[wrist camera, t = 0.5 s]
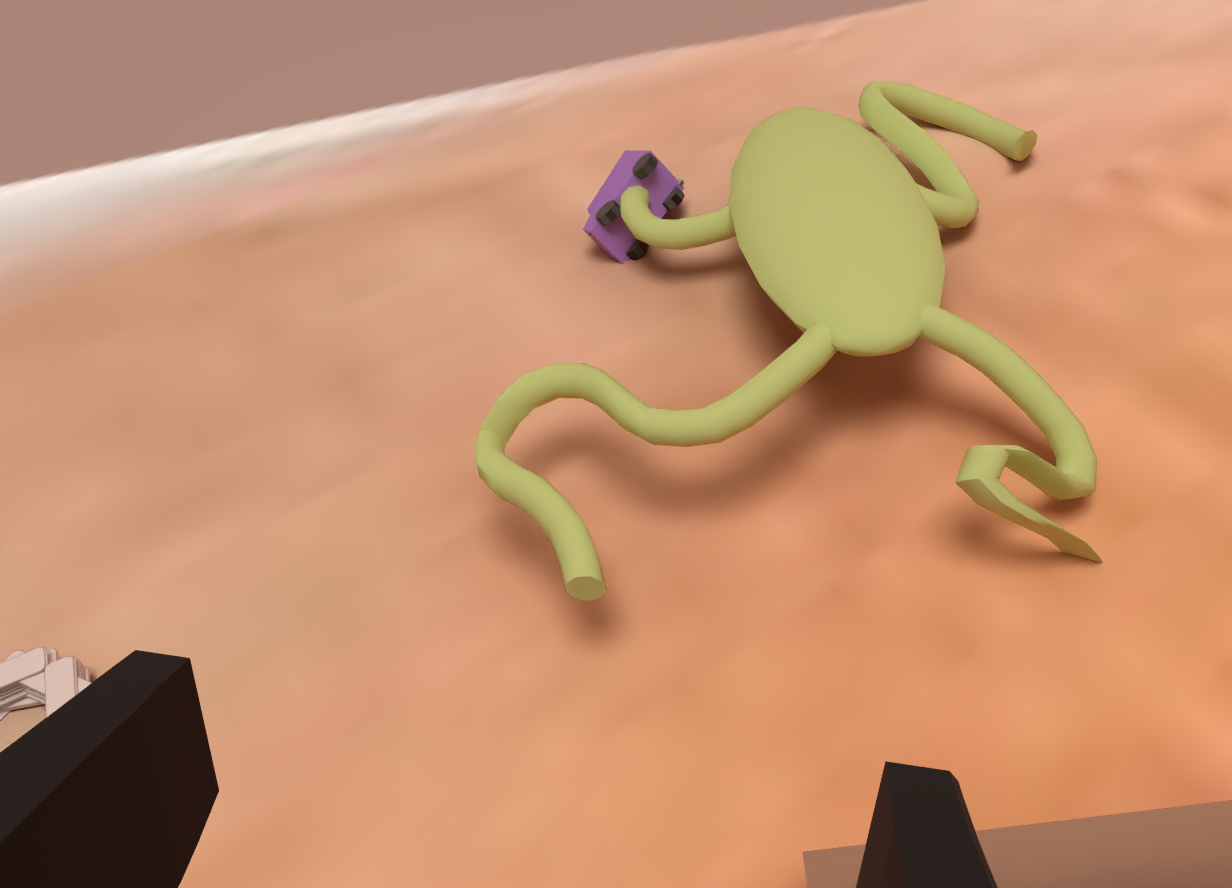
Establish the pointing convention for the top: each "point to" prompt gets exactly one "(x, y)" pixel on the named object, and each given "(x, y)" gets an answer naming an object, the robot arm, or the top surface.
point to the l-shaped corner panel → (40, 680)
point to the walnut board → (1086, 852)
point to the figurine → (810, 299)
